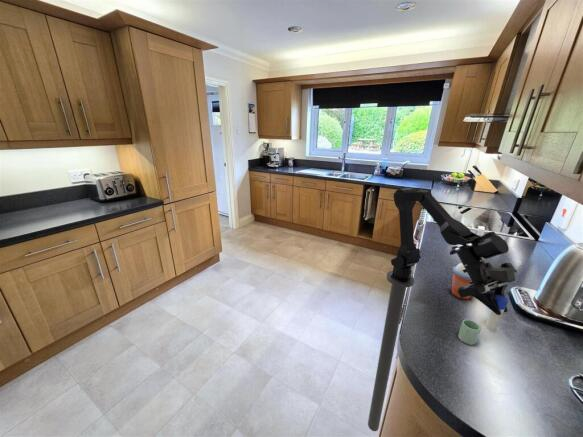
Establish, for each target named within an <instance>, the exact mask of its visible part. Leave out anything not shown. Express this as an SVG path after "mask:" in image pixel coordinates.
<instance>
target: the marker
mask: <svg viewBox="0 0 583 437" xmlns="http://www.w3.org/2000/svg"><path fill="white" fill-rule="evenodd" d="M495 301H496V303H497V305H498V307H499V309H500V312H501V315H497V314H495V313H494V312H493V311H492V310H491V309H490V311H489V314H488V318H487V320H486V323H485V326H484V327H485V329H486V330H487V331H489V332H491V333H496V332H498V328H499V327H500V323H501V320H502V318H503V315H504V313H505V312H504V310H505V308H506V305H508V302H509V299H508V298H507V297H506V296H505V297H503V296H500V295H496V296H495Z"/></svg>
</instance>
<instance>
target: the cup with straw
mask: <svg viewBox="0 0 583 437" xmlns="http://www.w3.org/2000/svg"><path fill="white" fill-rule="evenodd" d="M465 266H466V265H465ZM464 269H465V268H464V266H463V264H462V262H460V263H458V264H457V265H455V266H453V268H452V272H453V275H452V284H451V286H452V287H451V293H452V295H454V296H455V297H456V298H459V299H461V300H469V299H470V298H471V297H472V296H467V297H460V295H459V293H458V288H460V287H463V286H466V285H470V283H469V282H472V280H471V278H470V276H469V275H468V273H467V272H466V273H464V272H463V270H464Z"/></svg>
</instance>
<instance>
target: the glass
mask: <svg viewBox="0 0 583 437" xmlns="http://www.w3.org/2000/svg"><path fill="white" fill-rule="evenodd" d="M459 327H460V328H459V331H458V333H457V334H458V335H457V337H458V338H459V340H460V341H461V342H463V343H465V344H466V345H470V346H471V345H472V346H474V345H476V344H477V342H478V338H479V335H480V332H481V330H482V327H481V326H480V325H479V323H478V322H476V321H474V320H472V319H467V318H465V319H463V320H462V321H461V325H460V326H459Z"/></svg>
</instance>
